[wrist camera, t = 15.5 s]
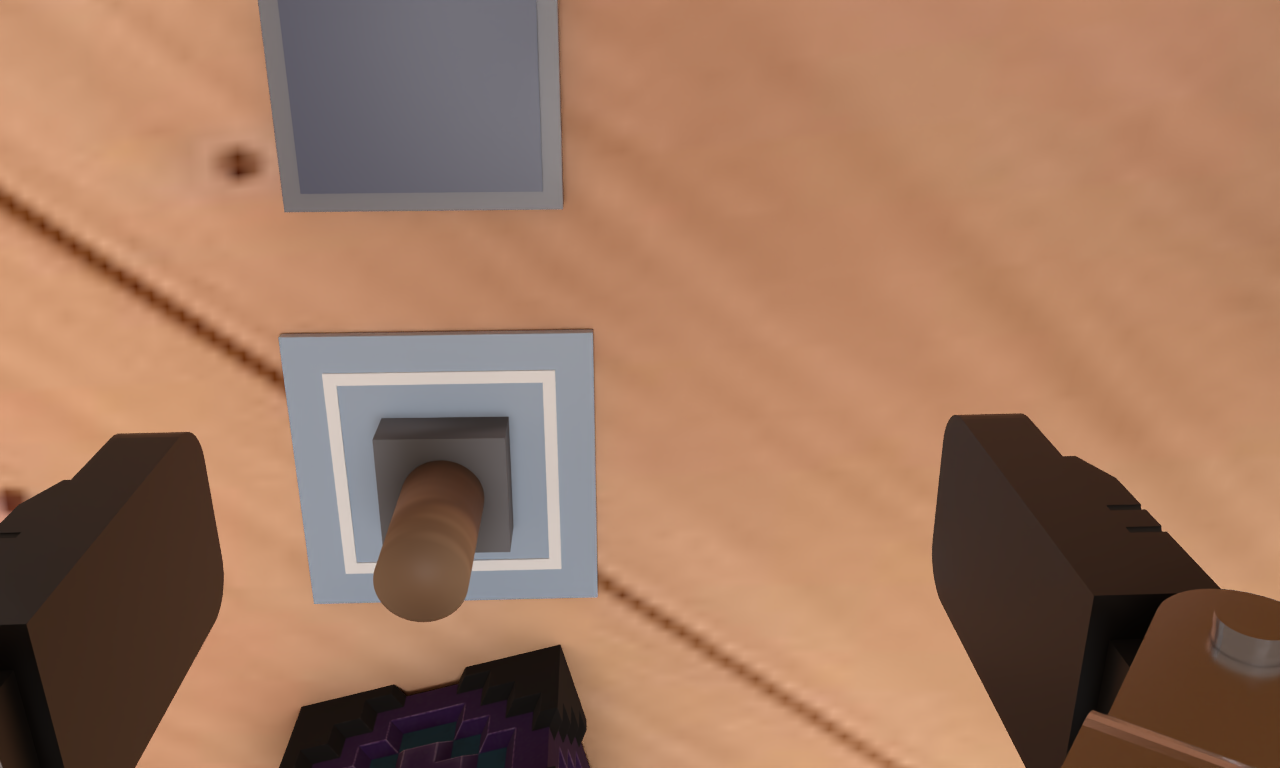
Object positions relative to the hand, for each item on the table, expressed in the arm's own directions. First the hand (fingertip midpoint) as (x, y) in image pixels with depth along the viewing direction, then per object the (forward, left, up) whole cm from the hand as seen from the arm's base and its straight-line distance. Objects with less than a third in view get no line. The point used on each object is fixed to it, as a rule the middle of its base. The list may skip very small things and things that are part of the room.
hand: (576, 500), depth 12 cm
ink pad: (+6, 0, -30) cm, 30 cm away
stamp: (+6, +15, -30) cm, 33 cm away
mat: (+6, +15, -30) cm, 34 cm away
